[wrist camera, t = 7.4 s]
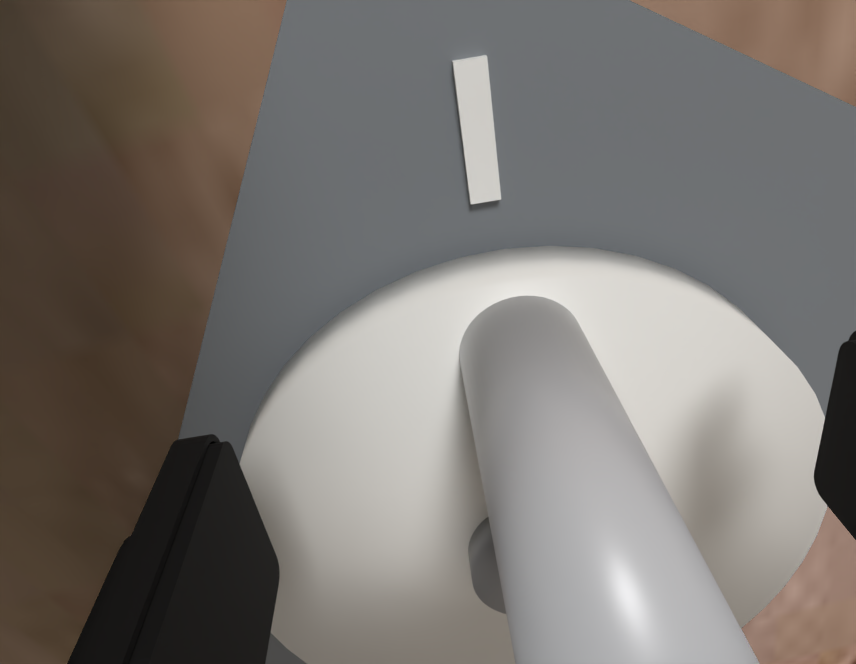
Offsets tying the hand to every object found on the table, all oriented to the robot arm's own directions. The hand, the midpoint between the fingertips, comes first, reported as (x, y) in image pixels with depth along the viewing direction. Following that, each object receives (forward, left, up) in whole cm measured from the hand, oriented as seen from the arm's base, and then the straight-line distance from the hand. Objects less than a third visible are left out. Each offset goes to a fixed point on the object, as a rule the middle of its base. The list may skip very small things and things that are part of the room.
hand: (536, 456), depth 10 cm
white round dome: (-5, -3, -4) cm, 7 cm away
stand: (-5, -3, -6) cm, 8 cm away
